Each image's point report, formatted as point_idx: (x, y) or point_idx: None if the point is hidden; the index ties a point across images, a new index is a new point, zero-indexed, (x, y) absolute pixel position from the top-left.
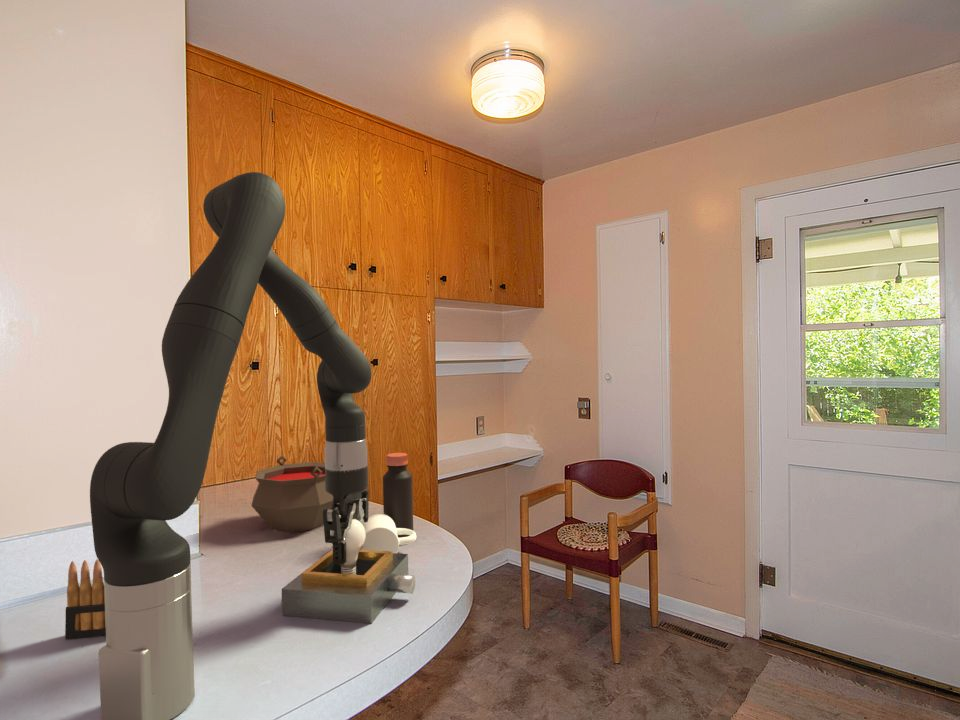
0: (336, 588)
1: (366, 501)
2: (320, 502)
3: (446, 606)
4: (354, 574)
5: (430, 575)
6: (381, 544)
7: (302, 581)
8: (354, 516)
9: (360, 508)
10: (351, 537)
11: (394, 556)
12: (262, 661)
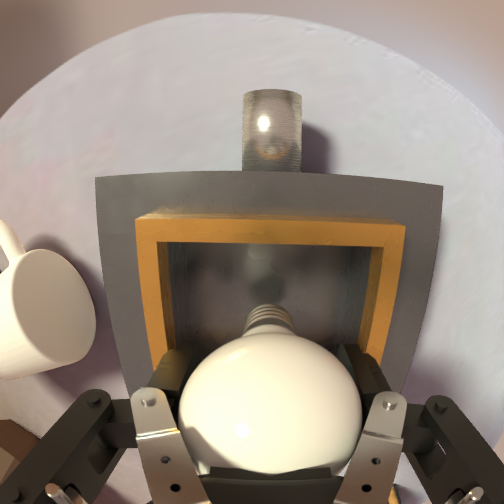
0: (401, 309)
1: (49, 473)
2: (10, 459)
3: (291, 22)
4: (274, 307)
5: (112, 118)
6: (51, 301)
7: None
8: (248, 482)
9: (184, 502)
10: (354, 391)
11: (122, 218)
12: (496, 323)
